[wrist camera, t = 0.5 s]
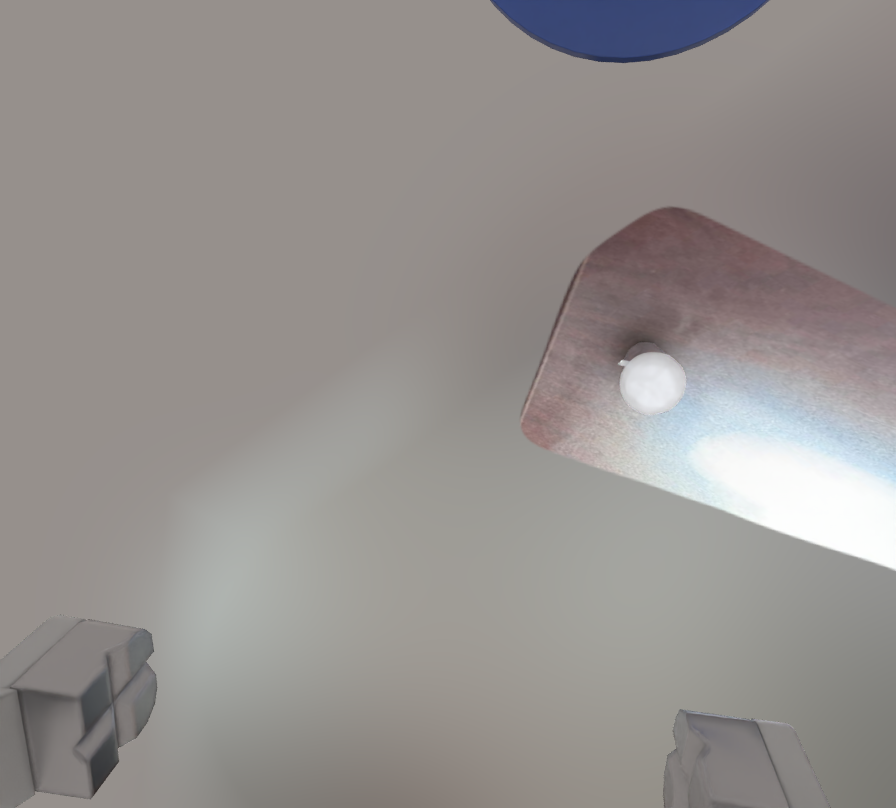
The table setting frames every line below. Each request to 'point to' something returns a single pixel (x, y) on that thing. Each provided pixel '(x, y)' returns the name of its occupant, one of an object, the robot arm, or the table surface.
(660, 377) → the milkshake
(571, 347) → the table surface
